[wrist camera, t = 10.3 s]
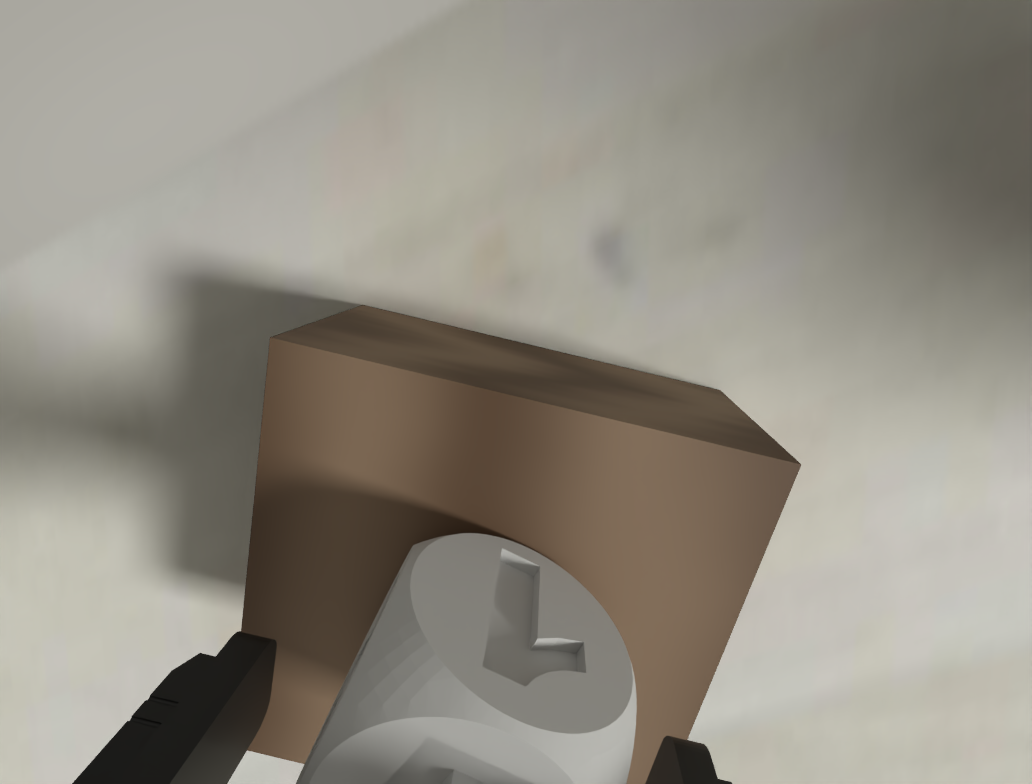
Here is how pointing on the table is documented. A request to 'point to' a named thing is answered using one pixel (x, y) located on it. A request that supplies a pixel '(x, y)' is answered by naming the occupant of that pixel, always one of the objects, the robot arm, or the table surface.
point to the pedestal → (498, 501)
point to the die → (482, 678)
